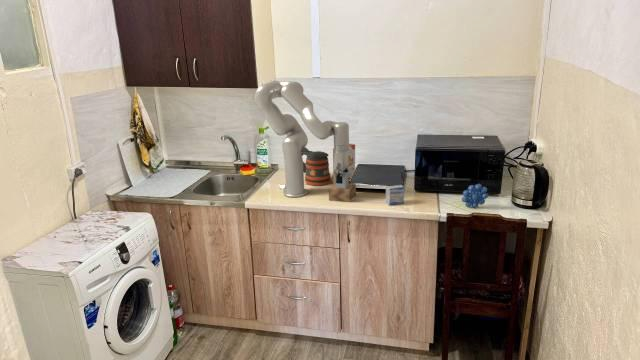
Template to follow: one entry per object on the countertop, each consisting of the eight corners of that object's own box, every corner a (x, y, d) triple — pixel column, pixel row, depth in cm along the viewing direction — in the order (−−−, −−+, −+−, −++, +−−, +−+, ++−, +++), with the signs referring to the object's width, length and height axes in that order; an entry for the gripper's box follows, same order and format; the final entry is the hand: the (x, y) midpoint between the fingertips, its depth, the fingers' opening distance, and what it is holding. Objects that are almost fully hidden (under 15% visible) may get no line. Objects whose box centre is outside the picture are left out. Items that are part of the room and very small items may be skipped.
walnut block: (329, 200, 238) (328, 189, 236) (335, 193, 248) (335, 182, 246) (350, 202, 234) (349, 191, 232) (355, 194, 244) (355, 183, 242)
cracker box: (342, 186, 257) (341, 149, 251) (333, 184, 261) (332, 148, 254) (356, 179, 268) (355, 143, 261) (347, 178, 271) (346, 142, 265)
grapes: (486, 205, 224) (488, 181, 221) (487, 210, 218) (489, 186, 214) (461, 203, 228) (462, 180, 224) (461, 208, 221) (462, 184, 218)
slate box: (336, 187, 238) (335, 174, 236) (339, 184, 242) (338, 171, 240) (345, 188, 236) (345, 175, 234) (348, 185, 241) (348, 172, 238)
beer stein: (293, 184, 264) (291, 149, 258) (304, 176, 277) (303, 143, 271) (324, 187, 257) (323, 151, 251) (334, 179, 270) (333, 145, 264)
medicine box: (389, 205, 228) (389, 188, 226) (385, 202, 232) (385, 186, 230) (404, 203, 230) (404, 186, 228) (400, 200, 234) (400, 184, 232)
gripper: (339, 143, 242) (340, 174, 247) (328, 151, 226) (329, 185, 232) (353, 143, 239) (353, 175, 245) (343, 152, 224) (344, 186, 229)
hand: (342, 180), depth 238 cm, fingers open, 9 cm apart
